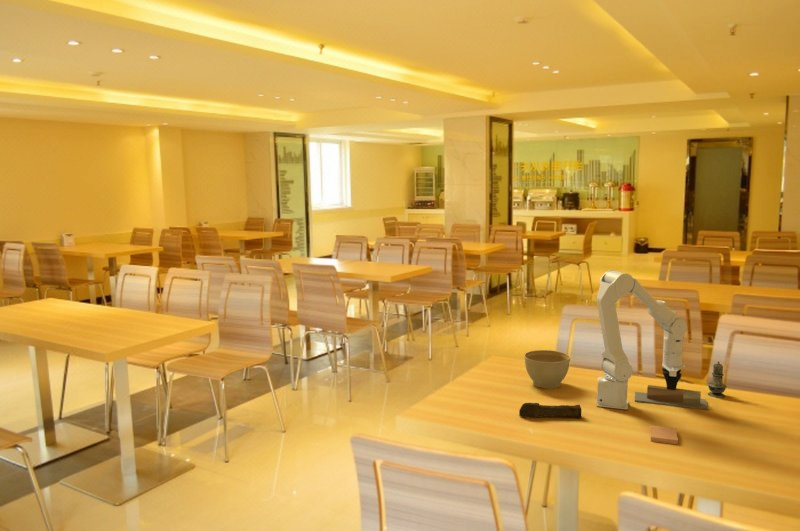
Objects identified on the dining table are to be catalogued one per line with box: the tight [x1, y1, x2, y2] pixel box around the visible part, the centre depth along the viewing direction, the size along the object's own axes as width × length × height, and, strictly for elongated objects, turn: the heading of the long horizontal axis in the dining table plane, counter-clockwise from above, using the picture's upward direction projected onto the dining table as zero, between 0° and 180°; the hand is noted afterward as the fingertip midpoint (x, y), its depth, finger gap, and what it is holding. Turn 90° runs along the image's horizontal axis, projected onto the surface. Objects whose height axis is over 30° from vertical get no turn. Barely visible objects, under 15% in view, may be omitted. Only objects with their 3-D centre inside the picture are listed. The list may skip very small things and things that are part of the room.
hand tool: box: [518, 402, 582, 419], centre depth 190 cm, size 19×4×5 cm, turn 86°
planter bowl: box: [523, 349, 571, 389], centre depth 220 cm, size 16×16×11 cm
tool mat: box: [634, 391, 709, 411], centre depth 203 cm, size 22×9×1 cm, turn 69°
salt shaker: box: [707, 361, 728, 399], centre depth 208 cm, size 6×6×12 cm
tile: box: [649, 425, 679, 445], centre depth 174 cm, size 7×2×9 cm
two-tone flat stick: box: [646, 384, 702, 406], centre depth 202 cm, size 2×16×4 cm, turn 64°
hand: (670, 391), depth 203 cm, fingers open, 2 cm apart
